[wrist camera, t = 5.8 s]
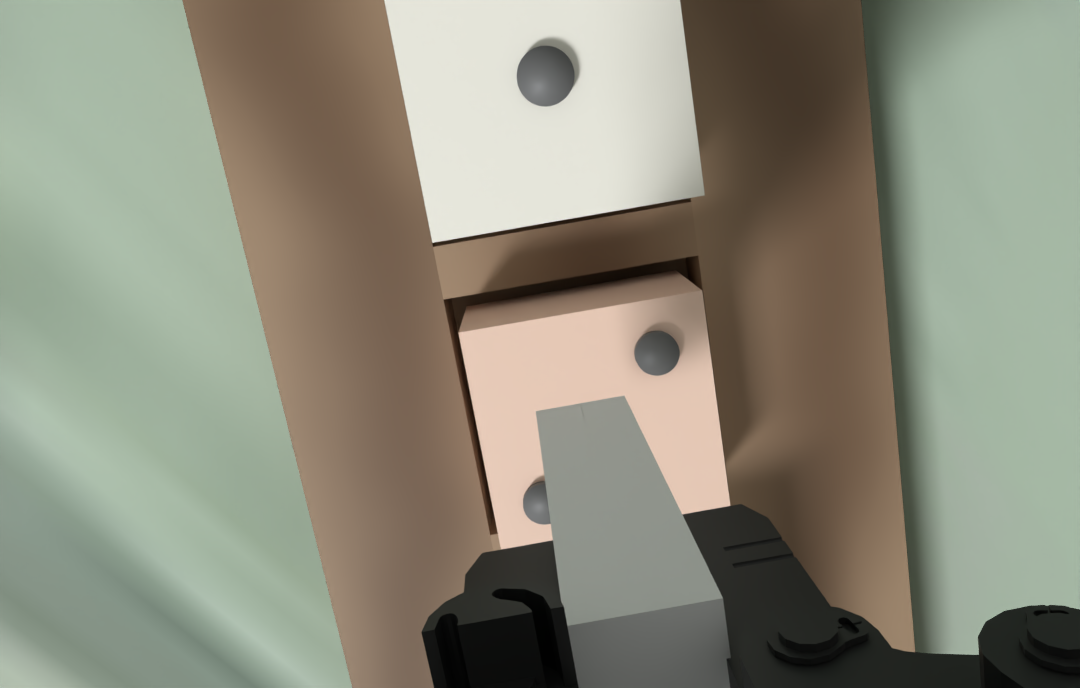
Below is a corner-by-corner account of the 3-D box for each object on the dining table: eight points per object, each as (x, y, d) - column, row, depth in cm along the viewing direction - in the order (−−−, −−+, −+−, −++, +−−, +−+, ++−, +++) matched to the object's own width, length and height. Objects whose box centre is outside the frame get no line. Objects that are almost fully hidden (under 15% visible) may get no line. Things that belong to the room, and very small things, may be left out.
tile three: (504, 501, 22) (501, 560, 19) (466, 306, 21) (458, 335, 17) (702, 467, 22) (734, 521, 18) (675, 270, 20) (704, 291, 17)
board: (401, 789, 25) (391, 845, 23) (203, -32, 20) (169, -52, 18) (891, 708, 24) (923, 756, 22) (813, -141, 20) (846, -173, 18)
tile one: (445, 228, 19) (431, 244, 16) (398, -17, 18) (372, -53, 14) (675, 188, 19) (706, 196, 16) (641, -61, 18) (669, -106, 14)
